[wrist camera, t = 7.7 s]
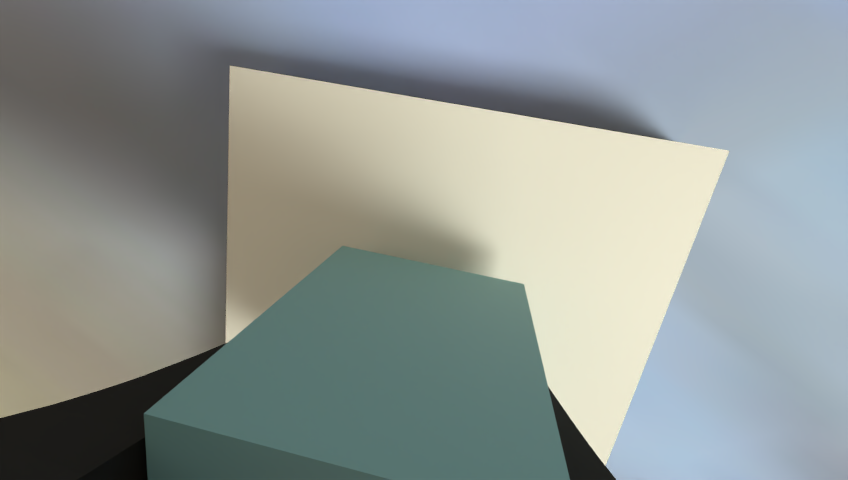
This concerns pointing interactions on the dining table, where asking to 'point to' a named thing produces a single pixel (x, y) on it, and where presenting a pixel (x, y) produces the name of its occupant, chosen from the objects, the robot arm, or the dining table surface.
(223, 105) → the dining table surface
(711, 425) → the dining table surface
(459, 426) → the teal block
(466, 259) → the plinth
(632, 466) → the dining table surface
